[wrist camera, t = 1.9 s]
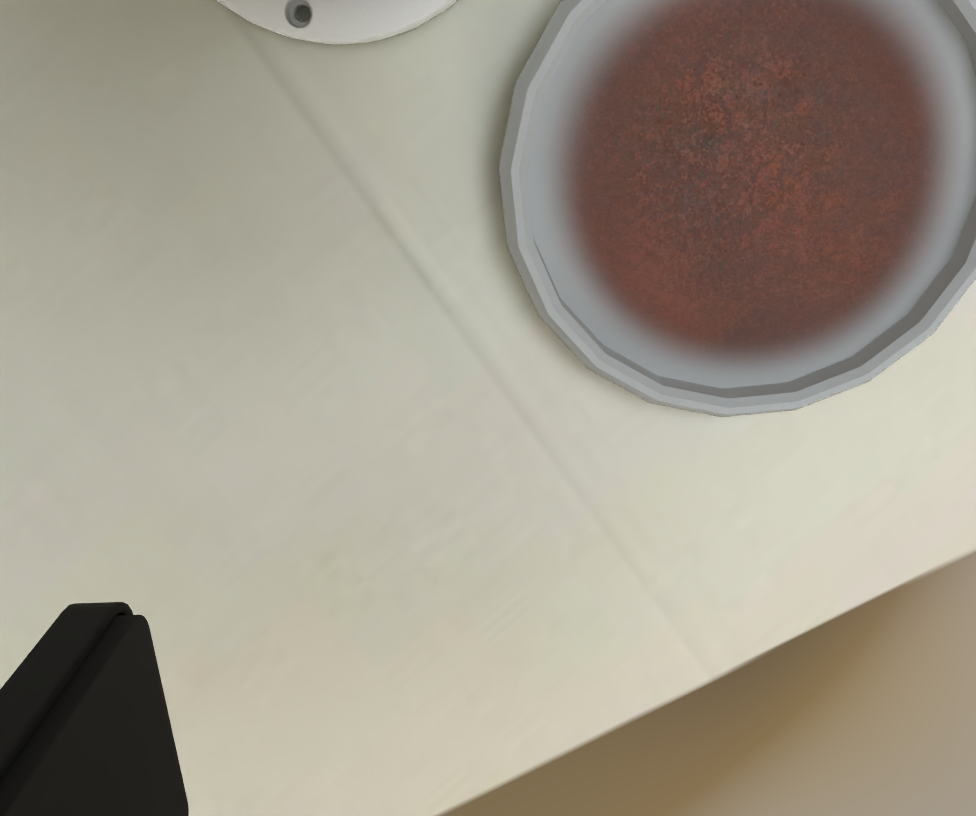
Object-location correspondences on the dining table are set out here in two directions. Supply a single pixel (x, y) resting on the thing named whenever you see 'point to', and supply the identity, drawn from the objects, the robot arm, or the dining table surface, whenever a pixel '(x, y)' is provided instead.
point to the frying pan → (744, 191)
